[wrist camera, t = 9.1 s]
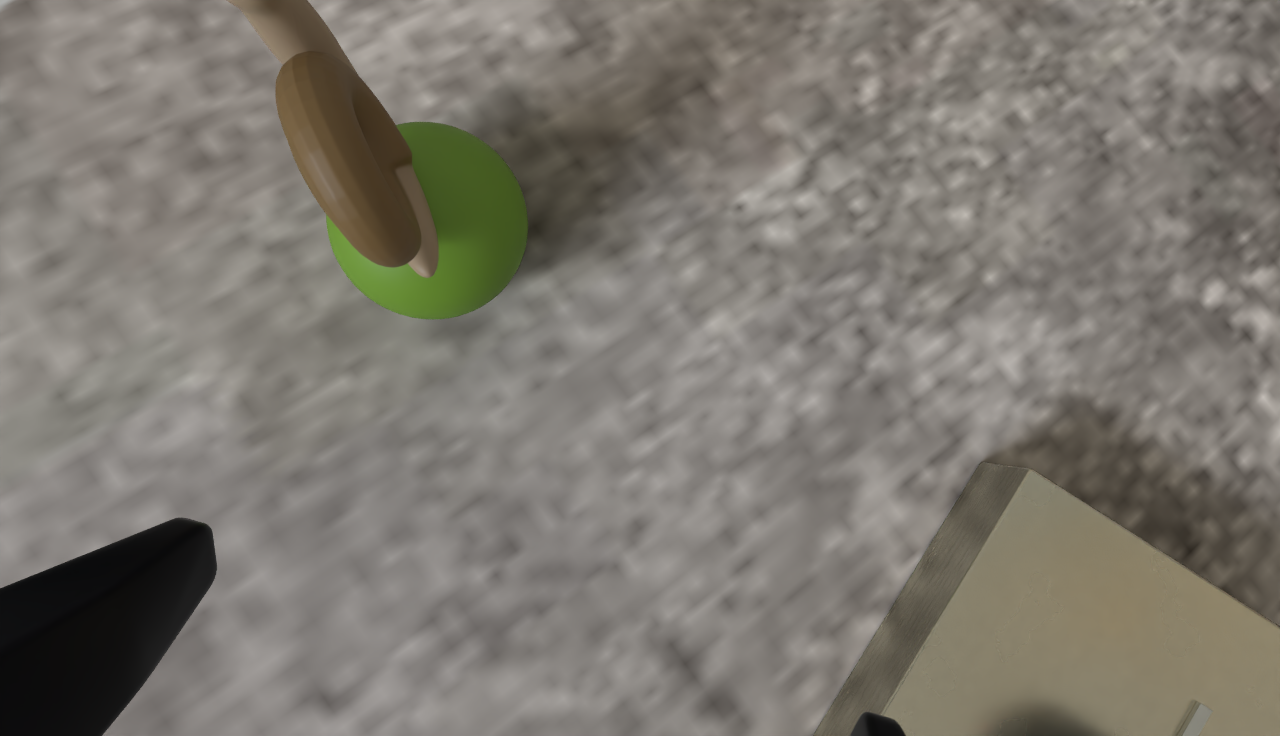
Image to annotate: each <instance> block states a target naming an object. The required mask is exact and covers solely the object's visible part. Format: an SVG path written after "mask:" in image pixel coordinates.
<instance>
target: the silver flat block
mask: <svg viewBox="0 0 1280 736" xmlns="http://www.w3.org/2000/svg"><path fill="white" fill-rule="evenodd" d="M865 712H871V713H875V714H879V715H882V716H886V717H889V718H892V719H894V720H895V721H897V722H898V724H899V725H900V726H901V728H902V729H903V731H904V733H905V735H906V736H1280V626H1278V625H1277V624H1275V623H1274V622H1272V621H1271V620H1269V619H1267V618H1266V617H1264V616H1263V615H1261V614H1260V613H1258V612H1256V611H1255V610H1253V609H1252V608H1250V607H1248V606H1247V605H1245V604H1244V603H1242V602H1241V601H1239V600H1237V599H1236V598H1234V597H1233V596H1231V595H1230V594H1228V593H1226V592H1225V591H1223V590H1222V589H1220V588H1219V587H1217V586H1215V585H1214V584H1212V583H1211V582H1209V581H1208V580H1206V579H1204V578H1203V577H1201V576H1200V575H1198V574H1197V573H1195V572H1193V571H1192V570H1190V569H1189V568H1187V567H1186V566H1184V565H1182V564H1181V563H1179V562H1178V561H1176V560H1175V559H1173V558H1171V557H1170V556H1168V555H1167V554H1165V553H1164V552H1162V551H1160V550H1159V549H1157V548H1156V547H1154V546H1153V545H1151V544H1149V543H1148V542H1146V541H1145V540H1143V539H1142V538H1140V537H1138V536H1137V535H1135V534H1134V533H1132V532H1131V531H1129V530H1127V529H1126V528H1124V527H1123V526H1121V525H1120V524H1118V523H1116V522H1115V521H1113V520H1112V519H1110V518H1109V517H1107V516H1105V515H1104V514H1102V513H1101V512H1099V511H1098V510H1096V509H1094V508H1093V507H1091V506H1090V505H1088V504H1087V503H1085V502H1083V501H1082V500H1080V499H1079V498H1077V497H1076V496H1074V495H1072V494H1071V493H1069V492H1068V491H1066V490H1065V489H1063V488H1061V487H1060V486H1058V485H1057V484H1055V483H1054V482H1052V481H1050V480H1049V479H1047V478H1046V477H1044V476H1043V475H1041V474H1039V473H1038V472H1036V471H1035V470H1033V469H1030V468H1022V467H1015V466H1007V465H999V464H991V463H983V462H981V463H980V464H979V466H978V467H977V469H976V471H975V472H974V474H973V476H972V477H971V479H970V480H969V482H968V484H967V485H966V487H965V489H964V490H963V492H962V494H961V495H960V497H959V498H958V500H957V502H956V503H955V505H954V507H953V508H952V510H951V511H950V513H949V515H948V516H947V518H946V520H945V521H944V523H943V525H942V526H941V528H940V529H939V531H938V533H937V534H936V536H935V538H934V539H933V541H932V542H931V544H930V546H929V547H928V549H927V551H926V552H925V554H924V556H923V557H922V559H921V560H920V562H919V564H918V565H917V567H916V569H915V570H914V572H913V573H912V575H911V577H910V578H909V580H908V582H907V583H906V585H905V587H904V588H903V590H902V591H901V593H900V595H899V596H898V598H897V600H896V601H895V603H894V604H893V606H892V608H891V609H890V611H889V613H888V614H887V616H886V617H885V619H884V621H883V622H882V624H881V626H880V627H879V629H878V631H877V632H876V634H875V635H874V637H873V639H872V640H871V642H870V644H869V645H868V647H867V648H866V650H865V652H864V653H863V655H862V657H861V658H860V660H859V662H858V663H857V665H856V666H855V668H854V670H853V671H852V673H851V675H850V676H849V678H848V679H847V681H846V683H845V684H844V686H843V688H842V689H841V691H840V693H839V694H838V696H837V697H836V699H835V701H834V702H833V704H832V706H831V707H830V709H829V710H828V712H827V714H826V715H825V717H824V719H823V720H822V722H821V724H820V725H819V727H818V728H817V730H816V732H815V733H814V735H813V736H850V735H851V733H852V731H853V729H854V727H855V725H856V723H857V721H858V719H859V718H860V716H861V715H862V714H863V713H865Z"/></svg>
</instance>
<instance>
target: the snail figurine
mask: <svg viewBox="0 0 1280 736" xmlns="http://www.w3.org/2000/svg"><path fill="white" fill-rule="evenodd" d="M227 1H228V2H230V3H231V4H233V5H234V6H236V7H238V8H239V9H240V10H241V11H242V12H243V13H244V14H245V16H246V17H247V19H248V20H249V21H250V23H251V24H252V26H253V27H254V29H255V30H256V32H257V33H258V34H259V36H260V37H261V38H262V40H263V41H264V42H265V44H266V45H267V46H268V48H269V49H270V50H271V51H272V53H273V54H274V55H275V56H276V58H277V59H278V60H279V61H280V62H281V63H282V64H283V66H282V68H281V70H280V72H279V74H278V76H277V79H276V104H277V110H278V114H279V118H280V121H281V124H282V127H283V130H284V133H285V135H286V138H287V140H288V143H289V146H290V149H291V151H292V154H293V157H294V159H295V161H296V163H297V166H298V168H299V170H300V172H301V174H302V176H303V178H304V180H305V182H306V183H307V185H308V187H309V189H310V190H311V192H312V194H313V195H314V197H315V198H316V200H317V202H318V203H319V205H320V206H321V207H322V209H323V210H324V212H325V213H326V219H327V229H328V235H329V240H330V243H331V246H332V249H333V252H334V254H335V257H336V259H337V261H338V263H339V264H340V266H341V268H342V269H343V271H344V272H345V274H346V275H347V277H348V278H349V279H350V280H351V282H352V283H353V284H354V285H355V286H356V287H357V288H358V289H359V290H360V291H361V292H362V293H363V294H365V295H366V296H367V297H368V298H370V299H371V300H373V301H374V302H376V303H377V304H379V305H381V306H382V307H384V308H386V309H388V310H391V311H393V312H396V313H398V314H402V315H405V316H409V317H414V318H420V319H445V318H452V317H456V316H460V315H463V314H466V313H469V312H471V311H474V310H476V309H478V308H480V307H481V306H483V305H485V304H486V303H488V302H489V301H491V300H492V299H493V298H495V297H496V296H497V295H498V294H499V293H500V292H501V291H502V290H503V289H504V288H505V287H506V286H507V284H508V283H509V282H510V280H511V279H512V278H513V276H514V274H515V273H516V271H517V269H518V267H519V265H520V263H521V260H522V258H523V255H524V251H525V247H526V242H527V235H528V217H527V209H526V204H525V200H524V197H523V194H522V191H521V188H520V186H519V184H518V182H517V180H516V178H515V176H514V174H513V173H512V171H511V170H510V168H509V167H508V165H507V164H506V163H505V162H504V160H503V159H502V158H501V157H500V156H499V155H498V154H497V153H496V152H495V151H494V150H493V149H492V148H491V147H489V146H488V145H487V144H486V143H484V142H483V141H481V140H480V139H478V138H477V137H475V136H473V135H472V134H470V133H468V132H466V131H463V130H461V129H458V128H455V127H452V126H449V125H445V124H440V123H433V122H410V123H404V124H399V125H395V123H394V122H393V120H392V119H391V117H390V116H389V114H388V113H387V111H386V110H385V108H384V107H383V106H382V104H381V103H380V102H379V100H378V99H377V97H376V96H375V95H374V94H373V92H372V91H371V90H370V89H369V87H368V86H367V85H366V84H365V83H364V81H363V80H362V79H361V78H360V77H359V76H358V74H357V72H356V71H355V69H354V68H353V66H352V64H351V63H350V61H349V60H348V58H347V56H346V55H345V53H344V52H343V50H342V49H341V47H340V45H339V43H338V42H337V40H336V38H335V37H334V35H333V34H332V32H331V31H330V29H329V28H328V27H327V25H326V24H325V22H324V21H323V20H322V18H321V17H320V16H319V14H318V13H317V12H316V10H315V9H314V8H313V7H312V6H311V4H310V3H309V2H308V1H307V0H227Z"/></svg>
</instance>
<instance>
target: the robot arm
mask: <svg viewBox="0 0 1280 736" xmlns="http://www.w3.org/2000/svg"><path fill="white" fill-rule="evenodd" d="M216 571H217V563H216V555H215V548H214V540H213V533H212V530H211V528H210V527H209V526H208V525H207V524H205V523H202V522H198V521H194V520H191V519H187V518H175V519H172V520H170V521H167V522H165V523H162V524H160V525H157V526H155V527H152V528H150V529H147V530H145V531H142V532H140V533H137V534H135V535H132V536H130V537H127V538H125V539H122V540H120V541H117V542H115V543H112V544H110V545H107V546H105V547H102V548H100V549H97V550H95V551H92V552H90V553H87V554H85V555H82V556H80V557H77V558H75V559H72V560H70V561H67V562H65V563H62V564H60V565H58V566H55V567H53V568H50V569H48V570H45V571H43V572H40V573H38V574H35V575H33V576H30V577H28V578H25V579H23V580H20V581H18V582H15V583H13V584H10V585H8V586H5V587H3V588H0V736H102V735H103V734H104V733H105V731H106V730H107V729H108V728H109V727H110V725H111V724H112V723H113V722H114V720H115V719H116V718H117V717H118V716H119V714H120V713H121V712H122V711H123V710H124V708H125V707H126V706H127V705H128V703H129V702H130V701H131V700H132V698H133V697H134V696H135V695H136V693H137V692H138V691H139V690H140V688H141V687H142V686H143V684H144V683H145V682H146V680H147V679H148V678H149V676H150V675H151V673H152V672H153V671H154V669H155V668H156V666H157V665H158V663H159V662H160V660H161V659H162V657H163V656H164V654H165V653H166V651H167V650H168V649H169V647H170V646H171V644H172V643H173V641H174V640H175V638H176V637H177V635H178V634H179V632H180V631H181V629H182V628H183V626H184V625H185V623H186V622H187V620H188V619H189V617H190V616H191V615H192V613H193V612H194V610H195V609H196V607H197V606H198V604H199V603H200V601H201V600H202V598H203V597H204V595H205V594H206V592H207V591H208V589H209V588H210V586H211V585H212V583H213V581H214V579H215V575H216ZM850 736H906V735H905V733H904V731H903V729H902V728H901V726H900V725H899V724H898V722H897V721H895V720H894V719H892V718H889V717H886V716H882V715H879V714H875V713H871V712H865V713H863V714H862V715H861V716H860V718H859V719H858V721H857V723H856V725H855V727H854V729H853V731H852V733H851V735H850Z"/></svg>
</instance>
